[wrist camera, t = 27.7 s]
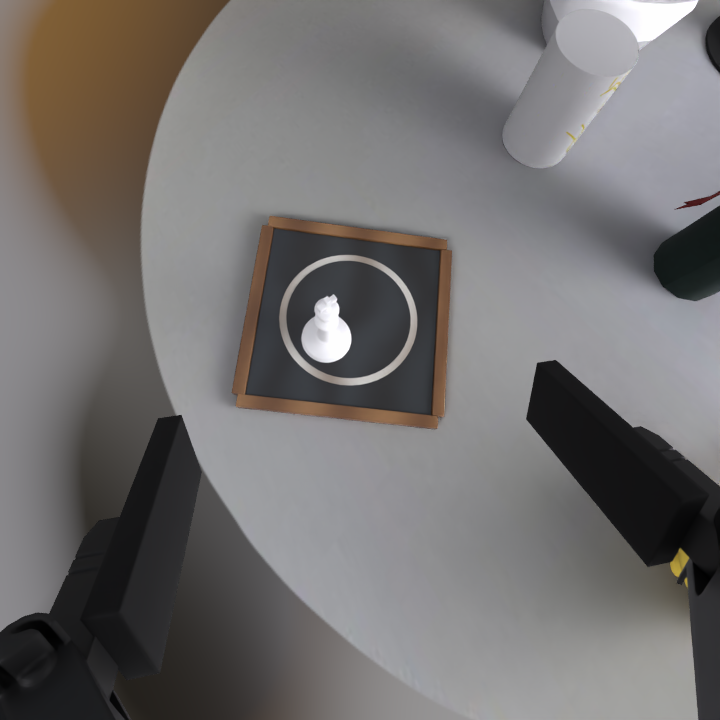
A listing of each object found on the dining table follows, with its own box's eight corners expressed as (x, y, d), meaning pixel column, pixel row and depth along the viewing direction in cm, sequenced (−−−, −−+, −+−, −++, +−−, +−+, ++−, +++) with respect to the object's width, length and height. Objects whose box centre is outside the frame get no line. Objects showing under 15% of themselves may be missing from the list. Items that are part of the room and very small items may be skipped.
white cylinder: (558, 177, 49) (630, 88, 38) (494, 153, 49) (546, 57, 38) (573, 126, 51) (645, 27, 40) (511, 103, 51) (566, -3, 40)
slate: (231, 406, 39) (229, 405, 38) (265, 219, 45) (263, 214, 44) (441, 430, 40) (443, 429, 40) (450, 244, 46) (452, 240, 45)
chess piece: (291, 335, 41) (280, 295, 31) (329, 306, 42) (331, 258, 32) (323, 372, 40) (322, 343, 30) (361, 341, 41) (372, 303, 32)
